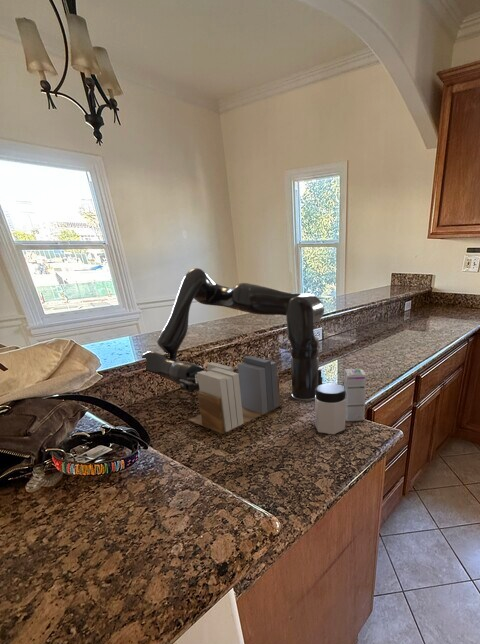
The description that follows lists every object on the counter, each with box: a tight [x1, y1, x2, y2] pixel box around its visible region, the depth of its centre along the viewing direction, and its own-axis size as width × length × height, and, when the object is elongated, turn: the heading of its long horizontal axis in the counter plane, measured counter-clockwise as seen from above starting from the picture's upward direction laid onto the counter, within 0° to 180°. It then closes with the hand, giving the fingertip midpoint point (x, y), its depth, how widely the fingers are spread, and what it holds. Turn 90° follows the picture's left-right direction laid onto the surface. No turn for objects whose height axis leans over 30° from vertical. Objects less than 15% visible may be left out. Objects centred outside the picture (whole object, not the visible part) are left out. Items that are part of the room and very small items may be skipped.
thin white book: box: [206, 361, 235, 373], centre depth 103 cm, size 2×9×15 cm, turn 55°
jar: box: [314, 382, 346, 435], centre depth 98 cm, size 9×8×12 cm
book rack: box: [188, 374, 282, 435], centre depth 106 cm, size 24×15×11 cm, turn 145°
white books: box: [197, 368, 244, 433], centre depth 97 cm, size 6×9×15 cm
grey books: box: [236, 355, 280, 415], centre depth 108 cm, size 7×9×16 cm
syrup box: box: [343, 368, 367, 422], centre depth 104 cm, size 6×6×14 cm
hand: (221, 384), depth 103 cm, fingers open, 8 cm apart
